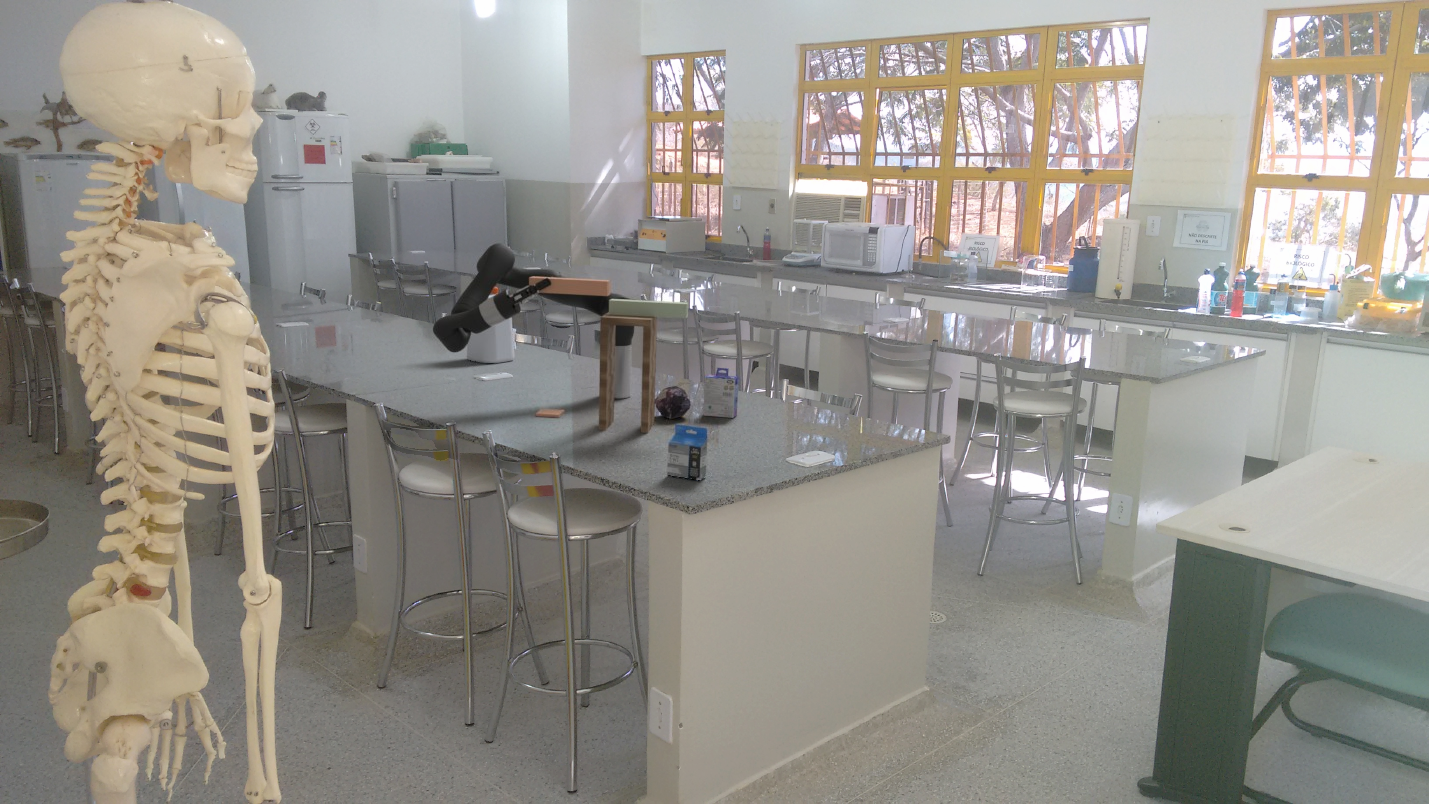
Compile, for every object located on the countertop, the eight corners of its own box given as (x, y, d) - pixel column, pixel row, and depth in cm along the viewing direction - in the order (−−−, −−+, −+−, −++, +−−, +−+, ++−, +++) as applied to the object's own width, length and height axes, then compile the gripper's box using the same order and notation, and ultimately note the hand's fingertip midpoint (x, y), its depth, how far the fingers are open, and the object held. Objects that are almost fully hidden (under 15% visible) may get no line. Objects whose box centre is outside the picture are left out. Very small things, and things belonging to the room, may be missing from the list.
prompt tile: (541, 411, 313) (541, 408, 313) (564, 412, 313) (564, 409, 312) (535, 416, 306) (535, 413, 306) (558, 417, 306) (558, 414, 306)
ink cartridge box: (737, 414, 319) (739, 368, 316) (734, 418, 313) (736, 371, 310) (706, 412, 321) (708, 366, 318) (702, 416, 315) (704, 369, 312)
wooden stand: (607, 420, 304) (608, 312, 297) (654, 423, 303) (657, 314, 296) (598, 430, 292) (600, 317, 286) (647, 432, 291) (650, 319, 285)
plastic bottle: (491, 355, 407) (491, 284, 402) (519, 360, 399) (519, 287, 393) (462, 360, 395) (461, 286, 390) (489, 365, 387) (489, 290, 381)
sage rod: (611, 312, 296) (611, 298, 295) (687, 316, 294) (688, 302, 294) (608, 314, 292) (609, 300, 292) (686, 318, 290) (686, 304, 290)
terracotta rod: (532, 290, 291) (532, 276, 290) (610, 294, 289) (610, 280, 289) (529, 292, 287) (529, 277, 287) (607, 296, 286) (607, 281, 285)
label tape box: (666, 476, 249) (667, 426, 246) (673, 472, 252) (675, 423, 250) (699, 481, 245) (701, 431, 243) (706, 477, 249) (708, 428, 246)
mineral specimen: (650, 407, 316) (664, 377, 315) (681, 421, 317) (695, 392, 316) (649, 413, 307) (664, 382, 305) (681, 427, 308) (696, 397, 306)
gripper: (485, 298, 284) (538, 270, 281) (500, 293, 298) (551, 266, 295) (498, 323, 285) (552, 294, 282) (513, 316, 299) (564, 289, 296)
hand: (551, 280), depth 288 cm, fingers closed on terracotta rod, 4 cm apart
